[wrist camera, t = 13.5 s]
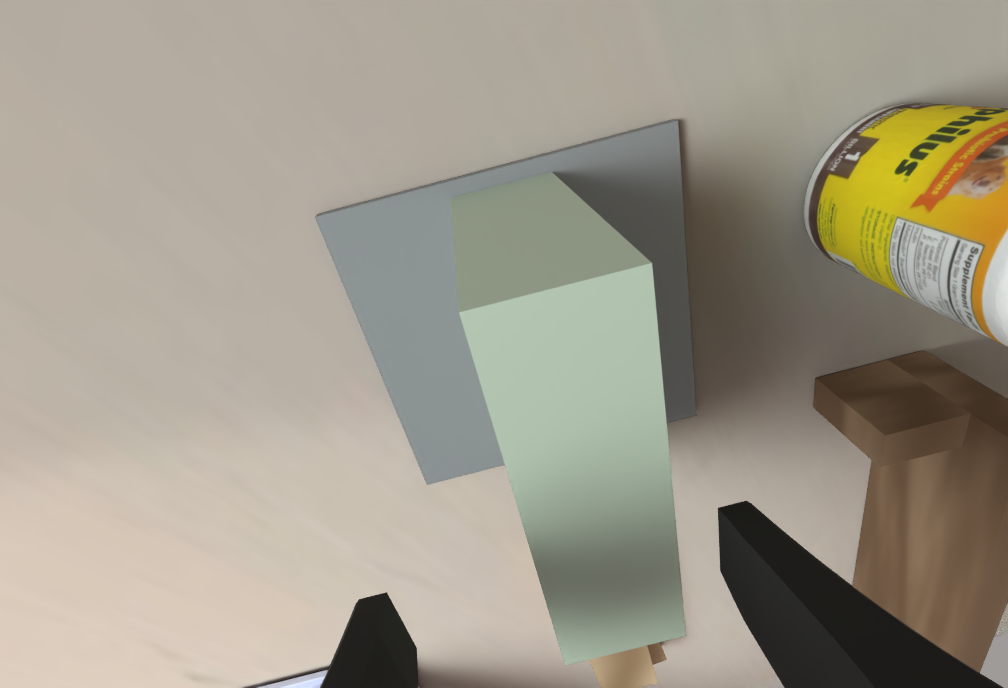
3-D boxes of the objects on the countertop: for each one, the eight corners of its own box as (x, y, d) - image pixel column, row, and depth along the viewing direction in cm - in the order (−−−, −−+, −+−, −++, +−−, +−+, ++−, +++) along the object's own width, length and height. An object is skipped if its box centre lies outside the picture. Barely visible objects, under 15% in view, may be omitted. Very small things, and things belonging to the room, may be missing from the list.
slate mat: (427, 478, 23) (427, 484, 22) (317, 214, 17) (315, 217, 17) (692, 409, 22) (696, 415, 22) (673, 119, 17) (677, 120, 16)
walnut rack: (794, 658, 33) (861, 770, 28) (815, 378, 22) (931, 473, 17) (867, 640, 33) (949, 749, 28) (923, 350, 22) (1073, 436, 17)
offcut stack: (597, 656, 31) (611, 710, 29) (531, 532, 26) (541, 585, 23) (657, 636, 31) (678, 689, 28) (604, 506, 25) (623, 556, 23)
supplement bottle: (952, 74, 17) (1523, 78, 8) (940, 229, 20) (1361, 362, 11) (788, 137, 17) (1159, 209, 8) (798, 280, 20) (1089, 451, 11)
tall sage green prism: (520, 451, 22) (565, 665, 14) (450, 198, 17) (459, 313, 9) (597, 432, 22) (686, 636, 14) (551, 171, 17) (652, 262, 9)
